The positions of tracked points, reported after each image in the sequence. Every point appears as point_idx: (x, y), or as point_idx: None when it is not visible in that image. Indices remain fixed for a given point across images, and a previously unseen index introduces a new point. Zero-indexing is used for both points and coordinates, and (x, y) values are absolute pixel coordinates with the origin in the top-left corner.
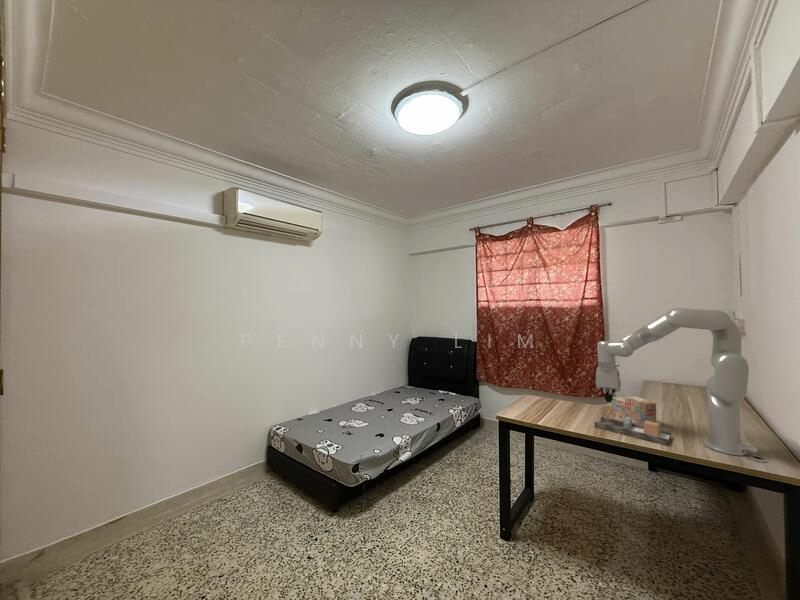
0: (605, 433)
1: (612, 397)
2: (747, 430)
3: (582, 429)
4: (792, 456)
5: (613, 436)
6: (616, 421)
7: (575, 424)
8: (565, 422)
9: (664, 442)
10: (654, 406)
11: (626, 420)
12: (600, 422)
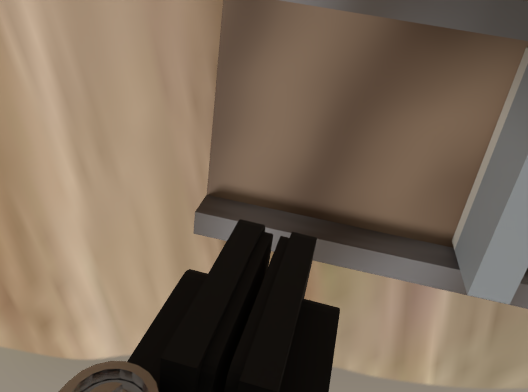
0: (305, 297)
1: (334, 348)
2: None
3: (151, 300)
4: None
5: (364, 328)
6: (397, 17)
7: (75, 219)
8: (5, 216)
9: None
10: None
11: (523, 170)
12: (232, 79)
